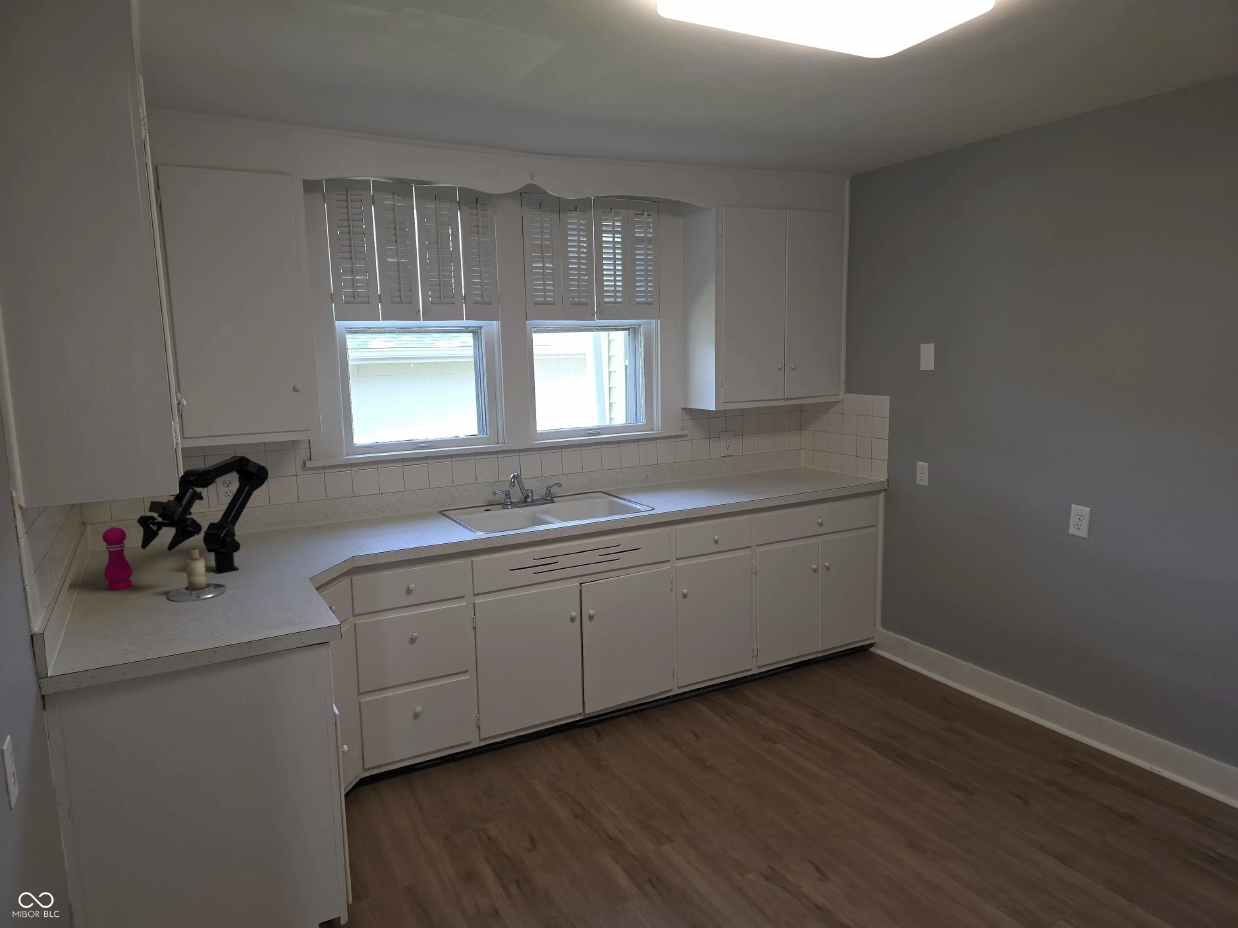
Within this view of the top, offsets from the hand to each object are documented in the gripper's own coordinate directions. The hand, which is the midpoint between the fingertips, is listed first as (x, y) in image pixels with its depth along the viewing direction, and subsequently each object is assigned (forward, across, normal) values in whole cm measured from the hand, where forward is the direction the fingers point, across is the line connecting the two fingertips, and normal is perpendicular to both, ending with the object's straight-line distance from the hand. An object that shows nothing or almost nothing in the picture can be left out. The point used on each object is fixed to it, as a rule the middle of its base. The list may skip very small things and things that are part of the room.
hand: (155, 549), depth 228 cm
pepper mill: (+8, -18, +12) cm, 23 cm away
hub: (+7, +10, +12) cm, 17 cm away
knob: (+7, +10, +11) cm, 17 cm away
